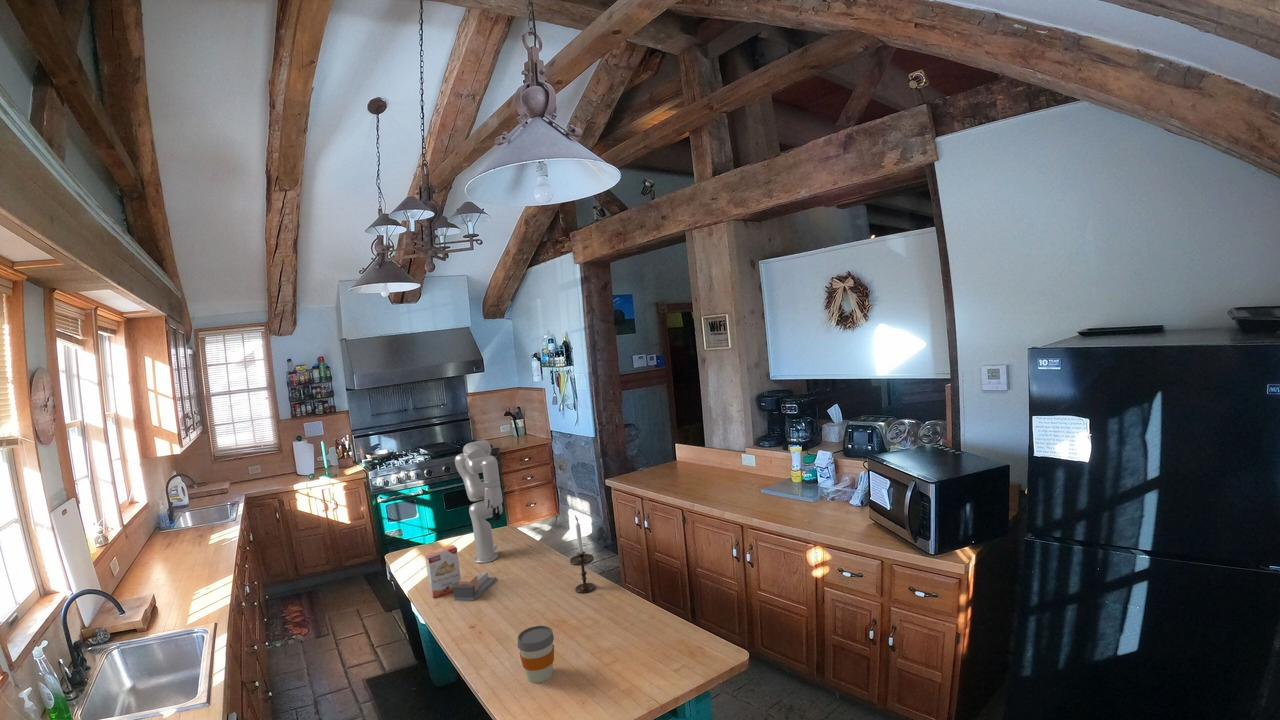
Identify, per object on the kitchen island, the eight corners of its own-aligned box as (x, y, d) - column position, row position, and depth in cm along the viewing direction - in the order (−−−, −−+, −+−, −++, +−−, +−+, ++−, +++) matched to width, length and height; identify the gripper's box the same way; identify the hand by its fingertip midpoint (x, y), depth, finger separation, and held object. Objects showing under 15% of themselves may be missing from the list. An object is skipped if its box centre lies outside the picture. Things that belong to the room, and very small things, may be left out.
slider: (466, 589, 290) (465, 575, 290) (478, 589, 289) (476, 575, 288) (460, 594, 284) (458, 581, 284) (472, 595, 283) (470, 581, 282)
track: (478, 579, 304) (477, 567, 304) (496, 579, 302) (495, 567, 301) (454, 600, 283) (452, 587, 283) (473, 600, 280) (472, 587, 280)
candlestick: (570, 594, 276) (561, 519, 274) (578, 583, 287) (569, 511, 285) (592, 594, 274) (584, 518, 271) (600, 583, 284) (591, 510, 282)
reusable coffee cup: (559, 663, 220) (554, 623, 219) (556, 683, 208) (550, 641, 207) (524, 667, 220) (519, 627, 219) (519, 688, 207) (513, 646, 206)
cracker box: (433, 598, 288) (427, 555, 286) (429, 595, 293) (424, 552, 291) (462, 588, 296) (457, 546, 294) (458, 585, 301) (453, 543, 299)
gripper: (492, 479, 310) (497, 515, 311) (477, 488, 296) (482, 525, 297) (506, 479, 308) (510, 514, 309) (491, 488, 294) (496, 525, 295)
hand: (496, 519), depth 303 cm, fingers closed
